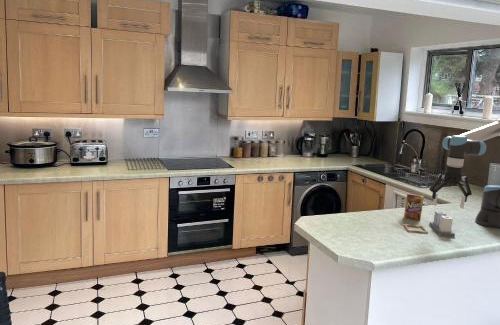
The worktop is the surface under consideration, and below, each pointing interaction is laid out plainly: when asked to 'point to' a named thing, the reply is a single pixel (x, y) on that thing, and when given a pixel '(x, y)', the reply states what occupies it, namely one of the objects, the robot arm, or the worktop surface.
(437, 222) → the charger blue
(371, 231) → the worktop surface
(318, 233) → the worktop surface
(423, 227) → the tray
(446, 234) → the power strip
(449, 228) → the block
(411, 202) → the candy box
